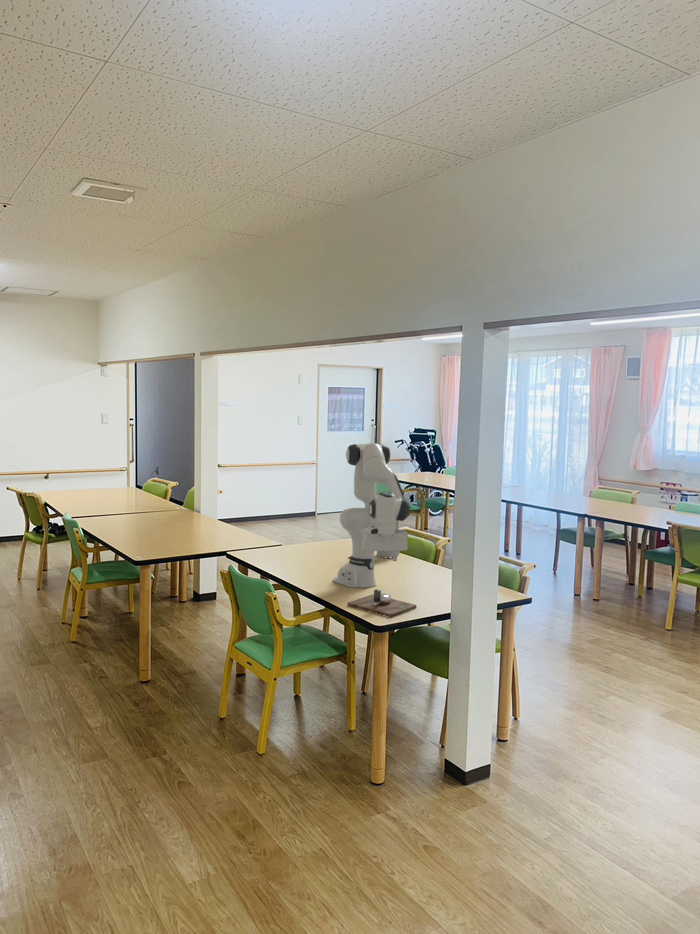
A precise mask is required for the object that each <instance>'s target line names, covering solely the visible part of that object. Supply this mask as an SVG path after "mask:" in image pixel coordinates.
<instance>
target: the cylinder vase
mask: <svg viewBox="0 0 700 934" xmlns="http://www.w3.org/2000/svg"><path fill="white" fill-rule="evenodd" d="M395 521H396V520H395ZM395 530H400V521H396V529H395ZM395 554H396V553H395V551H376V556H377V557H378V556H379V558H381V557H394V556H395Z"/></svg>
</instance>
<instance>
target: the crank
mask: <svg viewBox="0 0 700 934" xmlns="http://www.w3.org/2000/svg"><path fill="white" fill-rule="evenodd" d="M381 592H382V590H380V589H374V590H373V594H374V602H373V605H378V604H389V603H391V599H392V596H391V594H389V593H383V592H382V593H381Z"/></svg>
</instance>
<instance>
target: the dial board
mask: <svg viewBox="0 0 700 934" xmlns="http://www.w3.org/2000/svg"><path fill="white" fill-rule="evenodd" d="M373 602H374V593H373V594H369V595H367V596H364V597H361V598H357V599H354V600H352V601H349V602H347V607H351V608H353V607H354V608H353V609H357V608H358V609H357V610H361V609H362V610H361V611H364V610H365V612H368V611H370V612H369V613H372V612H373V614H375V613H377V615H379V614H381V615H380V616H383V615H385V616H384V617H386V616H388V617H387V618H390V617H391V619H392V617H393V618H394V616H395V617H398V616H400V615H403V614H405V613H407V612H410V610H411V611H413V610H415V608H416V609H417V604H415V603H410V602H407V601H404V600H403V601H402V600H398V599H394V598H391V603H389V604H378V605H373ZM402 613H403V614H402ZM397 615H398V616H397Z"/></svg>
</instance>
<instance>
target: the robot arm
mask: <svg viewBox="0 0 700 934" xmlns="http://www.w3.org/2000/svg"><path fill="white" fill-rule="evenodd" d="M390 449H391V448H390V447H389V446H388V445H386V444H382V443H380V444H379V443H375V442H370V443H358V444H357V443H354V444H350V445H349V446H348V447H347V450H346V452H345V459H346V462H347V463H348V464H349V465H350V466H354V474H353V475H354V476H353V495H354V497H355V498H356V499H357V500H359V501H361V502H362V503H363V504H364V507H350V508H345V509H343V511H341V513H340V516H339V523H340V525H341V527H342V528H343V529H345V530H346V531H347V532H348V534H349V536H350V538H351V542H352V554H351V555H350V556H348V557H347V560H349V561H348V562H347V563H346V564H345V565H343V566H341V567H340V569H338V572H337V576H336V577H334V578H333V579H332V582H334V583H337V584H340V585H343V586H346V587H349V588H372V587H375V586H376V585H377V584H376V583H377V582H376V579H375V563H376V561H377V557H376V556H375V552H377V551H395V553H396V554H395V556H394V557H393V558H392V562H397V561H398V556H399V555H400V553H401V552H406V551H407V550H408V547H409V546H408V544H409V543H408V537H409V534H408V530H405V529H399V530H395V529H396V521H399V522H404V521H405V520H406V519H408V517H409V516H410V514H411V507H410V503H409V502H408V500H407V498H406V497H405V493H404V491H403V488H402V486H401V483H400V482H399V479H398V476H397V475H396V473H395V472H394V471H393V470H391V468H390V467H389V466H388V463H389V462H390V459H391V450H390ZM377 484H378V485H379V484H380V485H383V486H385V487H387V488H388V489H389V490H390V492H389V491H380V492H379V493H378V494H377ZM395 520H396V521H395Z"/></svg>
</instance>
